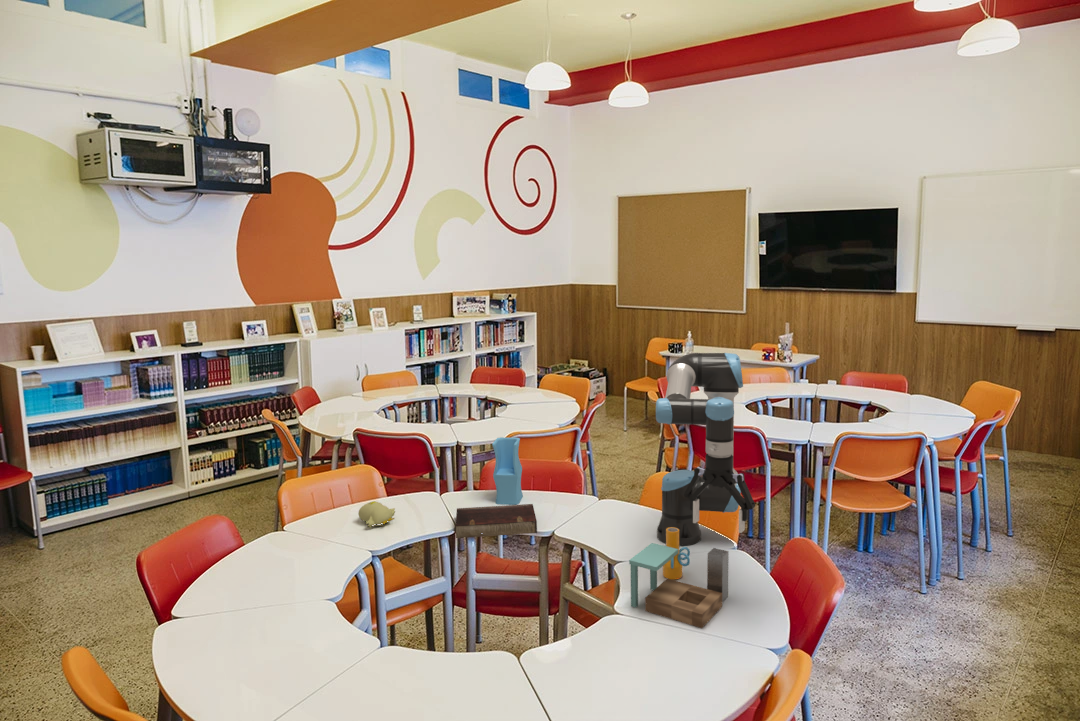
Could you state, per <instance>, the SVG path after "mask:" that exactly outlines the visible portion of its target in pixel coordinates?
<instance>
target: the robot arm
mask: <svg viewBox="0 0 1080 721" xmlns="http://www.w3.org/2000/svg"><path fill="white" fill-rule="evenodd" d="M741 364H742V363H741V359H740V356H739V355H738V354H737V353H733V352H732V353H730V352H692V353H687V354H685V355H682V356H680V357H679V358H677V359H676V360H674V361H673V362H672V363H671V364H670V366H669V367H668V369H667V372H666V381H667V388H666V392H665V396H664V397H662V398H657V400H656V402H655V420H656V422H657V423H658V424H664V425H665V424H666V425H693V426H694V425H695V426H696V425H697V426H698V425H699V426H705V453H706V454H705V461H704V462H705V468H703V467H702V466H701V465H699V466H697V467H695V469H694V470H690V469H678V470H673V471H670V472H668V473H665V475H664V476H663V477H662V482H661V488H660V489H661V517H660V520H659V523H658V526H657V529H656V538H657V539H658V540H659V541H661V542H662V543H664V544H666V529H667V528H669V527H675V528H678V529H679V547H680V546H683V547H684V546H691V545H694V544H697V543H699V542H700V541H701V539H702V532H701V529H700V525H699V521H700V511H703V512H720V513H723V514H724V513H735V512H737V511H738V533H739V534H742V533H743V532H744V531H745V529H746V525H745V524H746V522H747V521H748V520H749V510H753V509H754V508H755V507H756V503H755V500H754V499H753V496H752V494H751V491H750V489H749V487H748V485H747V483H746V481H745V480H746V479H745V474H744V473H743V472H740V473H738V472H737V470H735V468H734V436H735V435H734V431H735V430H734V427H735V425H734V422H735V421H734V418H735V397H736V396H737V395H738V394H739V389H742V388H743V387H744V382H743V372H742V371H743V370H742V365H741ZM692 387H698V388H699V387H700V388H703V393H704V394H705V395H706V396H707V399H706V398H704V399H703V398H701V399H700V398H691V394H692ZM738 508H740V509H738Z"/></svg>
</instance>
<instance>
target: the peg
mask: <svg viewBox="0 0 1080 721" xmlns="http://www.w3.org/2000/svg"><path fill="white" fill-rule="evenodd" d="M729 553H730V552H729V550H725V549H720V548H716V547H713V548H712V549H710V551H708V552H707V570H706V572H707V575H706V576H707V578H706V579H707V580H706V583H707V584H706V586H707V587H706V589H709V590H712V591H716V592H720V593H722V604H723V603H724V602H725V601H726V600H727V598H728V597H729V558H730V556H729V555H730V554H729Z"/></svg>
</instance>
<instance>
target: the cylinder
mask: <svg viewBox="0 0 1080 721" xmlns="http://www.w3.org/2000/svg"><path fill="white" fill-rule="evenodd" d="M665 546H667V547H672V548H676V549H678V554H677V555H675V556H674V557H673V558H672V559H671V560H669V561H668V562H667V563H666V564H665V565H663V566H662V576H663V577H664V578H665V579H667V578H668V579H671V580H675V581H676V580H680V579H681V578H682V577H683V567H688V566H689V565H690V563H691V559H690V554H691V550H690V549H689V548H690V547H689V548H688V546H683V547H680V545H679V529H678V528H675V527H669V528H667V529H666V543H665ZM684 550H685V551H686V552H687V553H686V552H684ZM682 556H683V557H682ZM685 560H686V563H683V562H682V561H685Z"/></svg>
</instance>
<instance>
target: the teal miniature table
mask: <svg viewBox="0 0 1080 721" xmlns="http://www.w3.org/2000/svg"><path fill="white" fill-rule="evenodd" d="M677 554H678V549H676V548H672V547H667V546H666V545H662V544H659V543H653V542H650V544H649V545H647V546H646V547H644V548H643V549H642V550H640V551H639V552H638V553H637V554H635V555H633V557H631V558H630V559H629V561H628V565H630V607H633V608H637V607H638V606H639V568H643V569H646V570H649V575H650V576H649V577H650V578H649V587H650V590H652V591H654V590H655V589H656V588H657V587H658V571H659V570H660V569H661V568H663V565H665V564H666V563H667V562H668V561H669V560H671V559H672V558H673V557H674V556H675V555H677Z"/></svg>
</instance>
